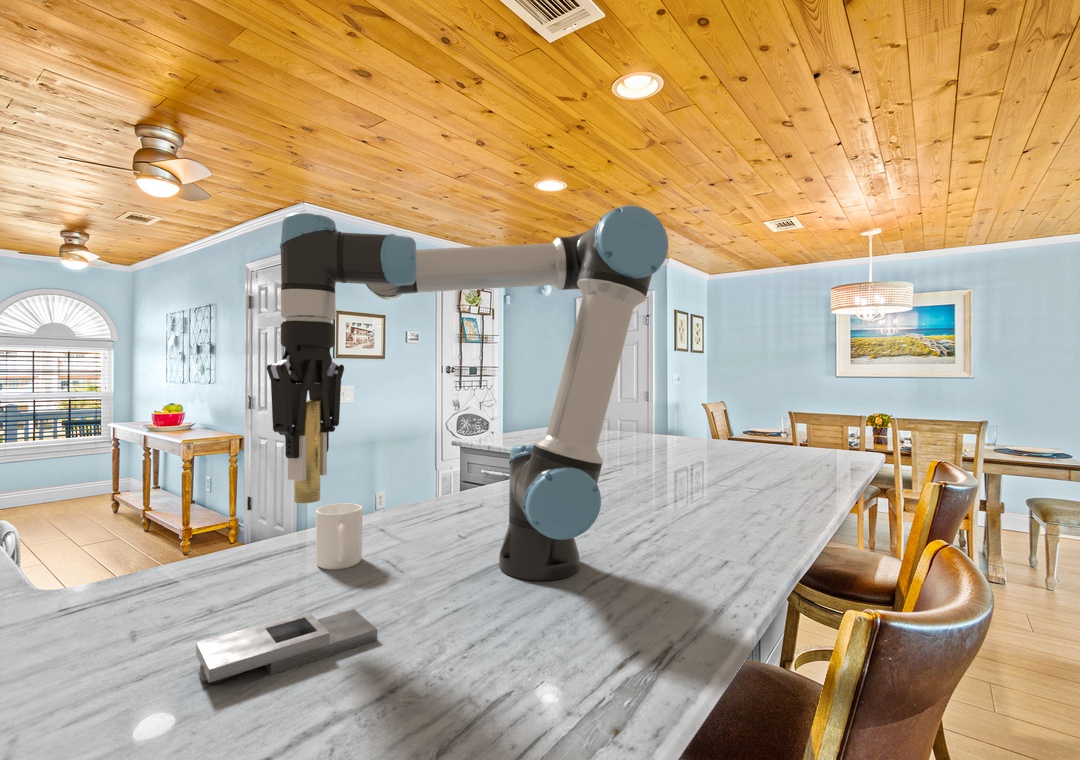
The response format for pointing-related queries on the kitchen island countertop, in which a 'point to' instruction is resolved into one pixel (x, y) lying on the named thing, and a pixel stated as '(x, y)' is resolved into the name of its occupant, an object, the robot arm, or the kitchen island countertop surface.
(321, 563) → the mug
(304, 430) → the pin
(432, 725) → the kitchen island countertop surface
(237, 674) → the slotted metal plate
